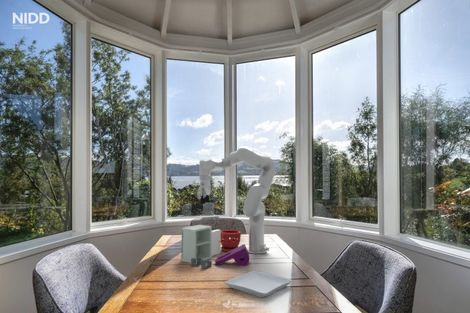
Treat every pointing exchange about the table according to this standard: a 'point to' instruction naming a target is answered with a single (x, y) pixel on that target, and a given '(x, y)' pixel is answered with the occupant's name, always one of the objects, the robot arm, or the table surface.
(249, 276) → the salad plate
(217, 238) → the door
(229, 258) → the mounting bracket
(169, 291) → the table surface
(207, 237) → the cabinet
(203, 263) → the hinge clips
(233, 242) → the plant pot
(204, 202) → the robot arm
